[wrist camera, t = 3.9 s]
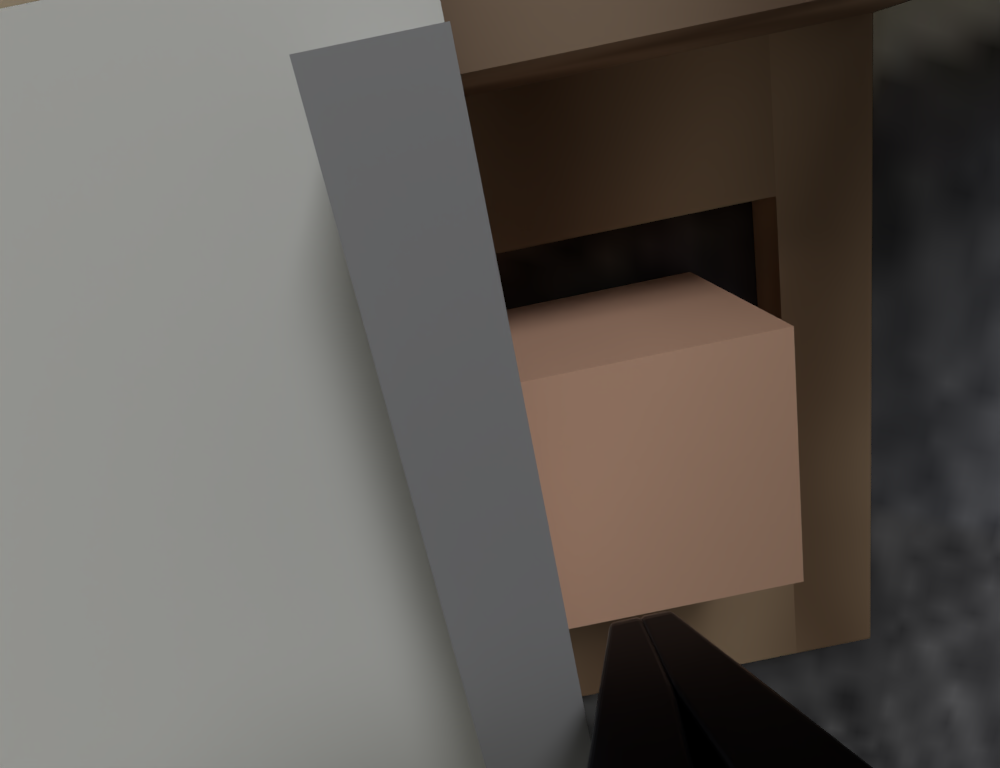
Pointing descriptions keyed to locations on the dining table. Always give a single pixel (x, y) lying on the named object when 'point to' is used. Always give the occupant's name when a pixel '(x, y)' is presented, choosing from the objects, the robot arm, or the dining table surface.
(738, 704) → the robot arm
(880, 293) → the dining table surface
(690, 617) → the brown open box
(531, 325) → the block
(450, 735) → the cover
